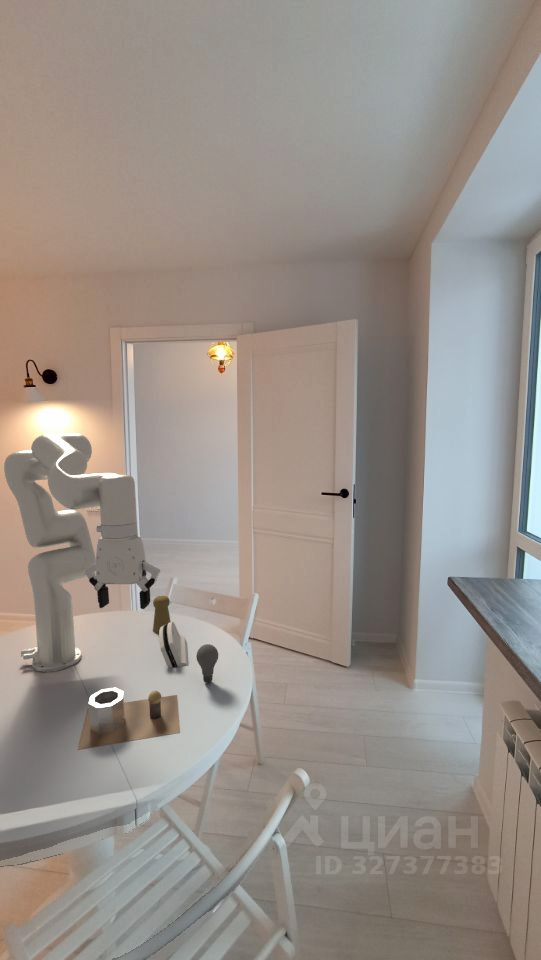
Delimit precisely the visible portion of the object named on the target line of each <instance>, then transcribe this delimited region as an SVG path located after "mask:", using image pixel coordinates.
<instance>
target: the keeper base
mask: <svg viewBox="0 0 541 960" xmlns="http://www.w3.org/2000/svg"><path fill="white" fill-rule="evenodd" d="M124 713H125V719H124V725H123V726H122V727H120V728H119V729H117V730H116V731H115V732H113V733H107V734H101V735H98V734H96V733H94V732H92V731H90V720H89V707H87V710H86V714H85V718H84V723H83V726H82V730H81V733H80V734H81V735H80V738H79V742H78V746H77V751H78V750H85V749H90V748H91V749H92V748H98V747H103V746H110V745H115V744H122V743H127V742H132V741H138V740H145V739H146V740H147V739H151V738H157V737H164V736H168V735H175V734H180V733H181V728H180V713H179V700H178V694H174V695H167V696H162V693H161V692H159V691H158V690H152V691H151V692H150V693H149V694H148V698H145V699H139V700H133V701H127V702H125V701H124Z"/></svg>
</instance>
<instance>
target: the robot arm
mask: <svg viewBox="0 0 541 960" xmlns="http://www.w3.org/2000/svg"><path fill="white" fill-rule="evenodd" d="M92 451H93V448H92V444H91V442H90V439H88V438H87V437H86V436H85V435H84V434H81V433H73V432H72V433H45V434H41V435H39V436H37V437H36V438H35V439H33V441H32V444H31V447H30V449H28V450H20V451H15V452H12V453H10V454H9V455H8V456H6V458H5V461H4V464H3V466H4V467H3V469H4V470H3V471H4V477H5V479H6V483H7V485H8V487H9V490H10V491H11V494H12V495H13V496H14V498H15V499H16V502H17V505H18V508H19V512H20V517H21V520H22V526H23V529H24V533H25V534H24V535H25V537H26V539H27V542H28V544H29V545H30V546H31V547H33V548H35V549H36V548H37V549H41V548H42V549H43V548H48V547H54V546H59V545H64V544H68V545H69V546H68V547H63V548H57V549H52V550H46V551H42V552H40V553H37V554H35V555H34V556H33V557H31V559H30V560H29V562H28V565H27V573H28V577H29V581H30V585H31V588H32V593H33V603H34V615H35V633H36V646H34V647H33V648H22V649H21V651H20V656H21V657H22V658H23V660H30V659H32V661H31V665H32V667H31V668H33V670H36V671H38V672H44V673H46V672H47V673H48V672H49V673H51V672H57V671H61V670H65V669H67V668H70V667H71V666H73V665H75V664H77V663H79V661H80V660H81V658H82V650H81V649H80V648H78V647H76V640H75V638H76V637H75V623H74V622H75V621H74V603H73V596H72V595H71V593H70V592H69V591H68V590H67V589H66V588H64V587H63V584H66V583H68V582H69V583H70V582H72V581H76V580H77V581H78V580H81V579H83V578H87V579H88V582H89V583H90V584H91V585H92V586H93V587H94V590H95V591H96V594H97V595H96V596H97V602H98V607H99V609H103V608H104V607H106V606H108V605H109V604H110V594H109V593H110V592H109V587H108V586H107V585H135V584H136V585H137V586H138V587H139V588H140V591H139V606H140V607H139V608H140V609H141V610H145V609H146V608H147V607H148V606H149V605H150V603H151V587H152V586H153V585H154V584H155V583H156V582H157V580H158V578H159V576H160V574H161V569H159V568H157V567H155V566H154V565H152V564H150V563H148V562H147V559H146V554H145V549H144V544H143V540H142V537H141V535H139V533H138V517H137V500H136V499H137V498H136V483H135V478H134V477H133V476H132V475H129V474H118V473H115V472H102V473H101V472H100V473H86V471H87V468H88V462H89V461H90V459H91V457H92V453H93V452H92ZM85 473H86V474H85ZM42 480H43V481H45V480H47V485H48V490H49V491H47V490H46V489H45V488H44V487H43V486H41V485H40V484H39V483H37V482H36V481H42ZM53 498H54V499H55V500H56V501H57V502H58V503H59V504H60V505H61V506H63V507H64V508H66V509H65V510H56V509H55V507H54V506H55V505H54V502H53ZM95 507H96V508H97V507H99V509H100V511H99V512H100V513H99V514H100V525H97V526H96V528H95V530H96V532H97V533H100V536H101V537H99V538H98V539H97V544H96V545H97V546H96V554H95V550H94V547H93V542H92V538H91V534H90V531H89V527H88V524H87V521H86V518H85V517H84V515H83V514H82V513H81V512H80V511H78V510H82V509H86V508H87V509H88V508H95ZM147 573H149V574H151V576H150V578H149V579H148V577H147Z"/></svg>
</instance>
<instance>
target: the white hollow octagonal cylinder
mask: <svg viewBox="0 0 541 960" xmlns="http://www.w3.org/2000/svg"><path fill="white" fill-rule="evenodd" d="M124 695H125V693H124V690H121V689H119V688H117V687H110V688H109V687H108V688H102V689H100V690H98V691H97V692H94V693H93V694H91V695H89V696H90V697H89V701H88V708H89V720H90V731H92V732H94V733H96V734H98V735H101V734H107V733H113V732H115V731H116V730H117V729H119V728H120V727H122V726H123V725H124V719H125V713H124V703H125V698H124V697H125V696H124Z"/></svg>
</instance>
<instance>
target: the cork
mask: <svg viewBox="0 0 541 960" xmlns="http://www.w3.org/2000/svg"><path fill="white" fill-rule="evenodd" d="M170 602H171V601H170V598H169V596H167V595H158V596H156V597H155V598H154V599H153V600H152V603H153V605H152V606H153V608H154V615H153V616H154V617H153V627H152V633H154V634H157V635H159V630H160V628H161V627H162V626H163V625H168V623H170V622H172V621H171V615H170V611H169V606H170Z"/></svg>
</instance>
